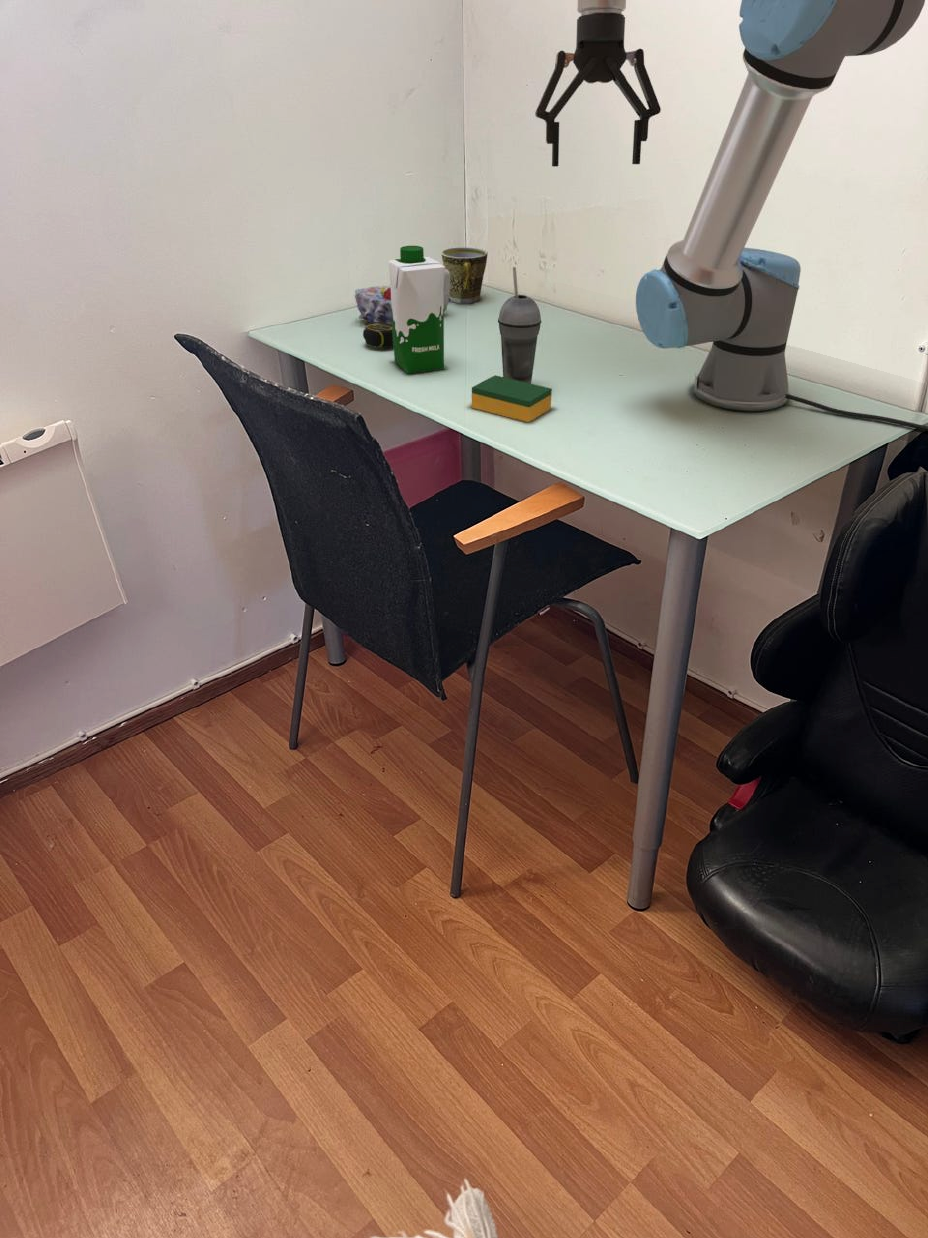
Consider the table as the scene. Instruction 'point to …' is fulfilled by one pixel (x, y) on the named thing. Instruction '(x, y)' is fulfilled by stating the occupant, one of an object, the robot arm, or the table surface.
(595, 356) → the table surface
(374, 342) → the tape measure
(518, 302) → the beverage cup
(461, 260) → the ceramic cup
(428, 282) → the milk carton
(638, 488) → the table surface
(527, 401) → the sponge
